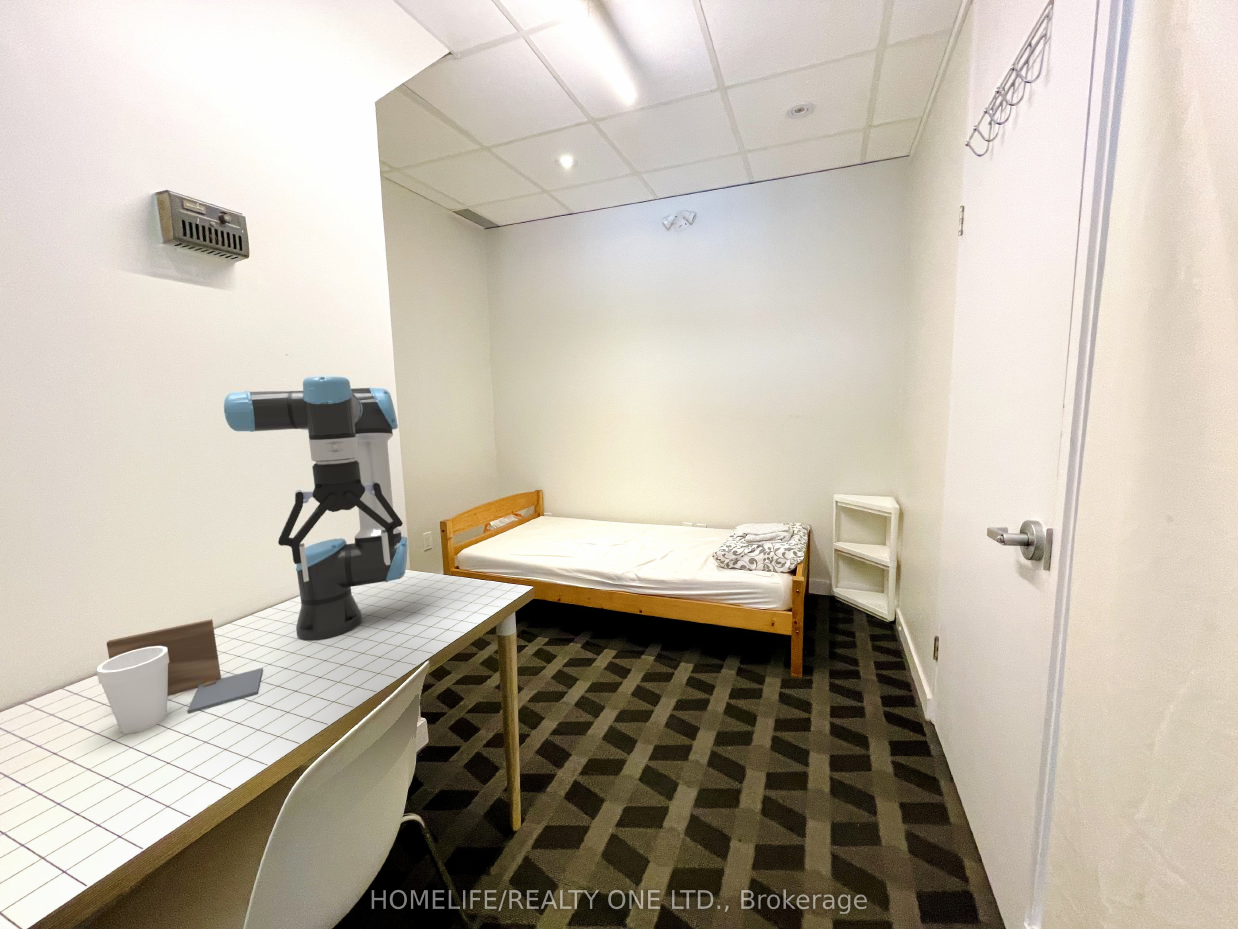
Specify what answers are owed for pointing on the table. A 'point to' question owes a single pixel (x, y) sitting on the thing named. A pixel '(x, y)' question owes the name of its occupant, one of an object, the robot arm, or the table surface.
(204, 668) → the screen
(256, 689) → the mat
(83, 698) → the table surface
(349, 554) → the robot arm
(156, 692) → the foam cup
